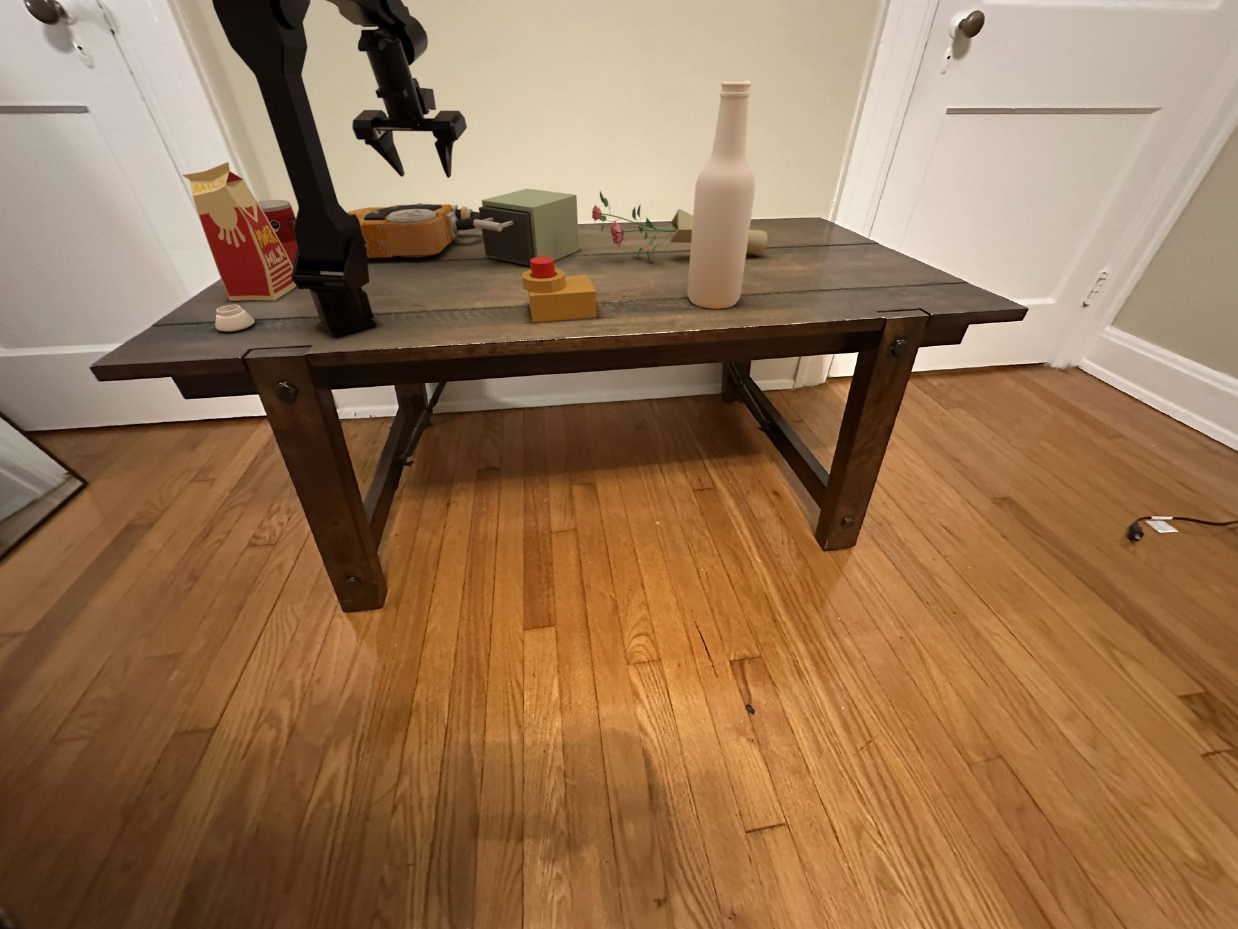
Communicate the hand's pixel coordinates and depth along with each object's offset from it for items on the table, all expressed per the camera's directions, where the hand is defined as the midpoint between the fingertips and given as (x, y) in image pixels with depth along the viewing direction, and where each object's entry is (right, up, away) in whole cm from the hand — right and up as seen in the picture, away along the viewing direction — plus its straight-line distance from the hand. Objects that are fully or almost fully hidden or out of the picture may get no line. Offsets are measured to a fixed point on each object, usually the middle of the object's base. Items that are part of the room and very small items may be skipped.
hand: (426, 176), depth 99 cm
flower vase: (+48, -12, +9) cm, 51 cm away
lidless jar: (-22, -33, -18) cm, 43 cm away
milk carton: (-27, -23, -5) cm, 36 cm away
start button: (+24, -25, -17) cm, 38 cm away
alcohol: (+52, -26, -9) cm, 59 cm away
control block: (+27, -29, -13) cm, 41 cm away
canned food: (-30, -14, +8) cm, 34 cm away
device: (-9, -7, +17) cm, 20 cm away
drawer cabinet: (+18, -9, +13) cm, 24 cm away
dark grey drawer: (+16, -11, +9) cm, 21 cm away
